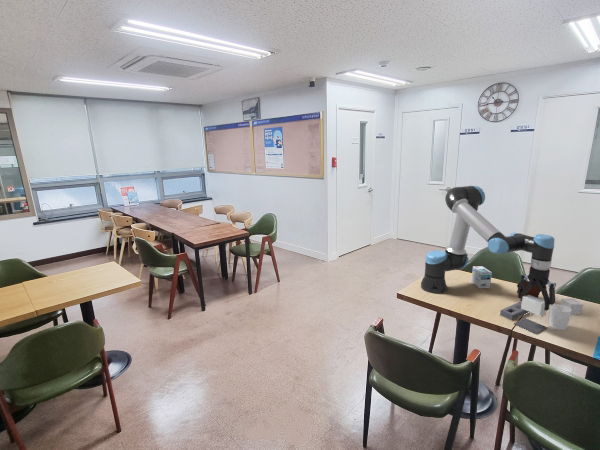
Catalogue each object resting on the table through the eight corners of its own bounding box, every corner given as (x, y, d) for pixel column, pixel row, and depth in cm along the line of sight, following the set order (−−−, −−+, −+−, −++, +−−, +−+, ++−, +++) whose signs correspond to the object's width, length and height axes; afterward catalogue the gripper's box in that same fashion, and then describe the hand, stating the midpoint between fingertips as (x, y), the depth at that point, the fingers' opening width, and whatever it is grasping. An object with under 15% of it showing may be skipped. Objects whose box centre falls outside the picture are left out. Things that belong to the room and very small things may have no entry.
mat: (513, 324, 158) (513, 323, 157) (524, 319, 162) (525, 317, 162) (536, 334, 149) (536, 333, 149) (547, 328, 154) (547, 327, 153)
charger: (520, 311, 156) (523, 296, 154) (526, 309, 158) (528, 294, 156) (539, 319, 149) (541, 303, 147) (544, 316, 151) (547, 301, 150)
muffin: (540, 297, 184) (542, 281, 182) (540, 305, 176) (542, 288, 173) (515, 292, 191) (517, 276, 189) (514, 299, 182) (516, 283, 180)
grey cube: (569, 314, 165) (571, 304, 164) (560, 309, 171) (562, 298, 170) (580, 314, 165) (583, 304, 164) (571, 308, 171) (573, 298, 169)
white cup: (543, 322, 158) (546, 304, 156) (557, 321, 159) (561, 303, 157) (556, 331, 151) (560, 312, 148) (572, 330, 151) (576, 311, 149)
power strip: (499, 315, 166) (500, 309, 165) (527, 303, 178) (528, 297, 177) (511, 320, 161) (512, 314, 160) (539, 307, 173) (540, 301, 172)
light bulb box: (490, 288, 197) (492, 272, 195) (479, 288, 197) (481, 272, 195) (481, 281, 208) (482, 265, 205) (470, 281, 208) (472, 266, 205)
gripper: (512, 262, 155) (506, 304, 161) (562, 276, 138) (554, 323, 143) (520, 259, 159) (514, 301, 164) (570, 273, 141) (562, 319, 146)
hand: (533, 311), depth 153 cm, fingers closed on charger, 8 cm apart
